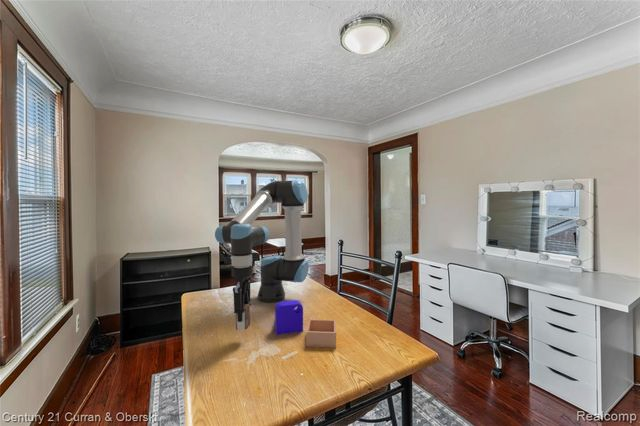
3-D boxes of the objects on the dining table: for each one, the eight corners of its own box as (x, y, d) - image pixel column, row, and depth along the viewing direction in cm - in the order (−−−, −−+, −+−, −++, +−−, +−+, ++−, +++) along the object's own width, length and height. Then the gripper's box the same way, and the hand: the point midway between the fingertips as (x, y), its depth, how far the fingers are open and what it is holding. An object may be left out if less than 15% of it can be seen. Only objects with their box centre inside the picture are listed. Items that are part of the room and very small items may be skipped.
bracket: (303, 331, 112) (303, 303, 111) (276, 335, 108) (276, 306, 108) (293, 314, 129) (293, 289, 128) (270, 317, 126) (270, 292, 125)
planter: (308, 332, 111) (308, 319, 110) (335, 333, 110) (335, 319, 110) (306, 346, 100) (306, 332, 100) (335, 347, 99) (336, 333, 99)
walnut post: (239, 324, 105) (239, 304, 104) (250, 324, 105) (249, 304, 104) (236, 329, 101) (235, 308, 100) (246, 329, 101) (246, 308, 100)
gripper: (240, 259, 110) (241, 315, 111) (222, 271, 93) (224, 337, 94) (258, 260, 110) (259, 316, 111) (244, 271, 93) (245, 337, 94)
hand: (243, 325), depth 103 cm, fingers closed on walnut post, 4 cm apart
